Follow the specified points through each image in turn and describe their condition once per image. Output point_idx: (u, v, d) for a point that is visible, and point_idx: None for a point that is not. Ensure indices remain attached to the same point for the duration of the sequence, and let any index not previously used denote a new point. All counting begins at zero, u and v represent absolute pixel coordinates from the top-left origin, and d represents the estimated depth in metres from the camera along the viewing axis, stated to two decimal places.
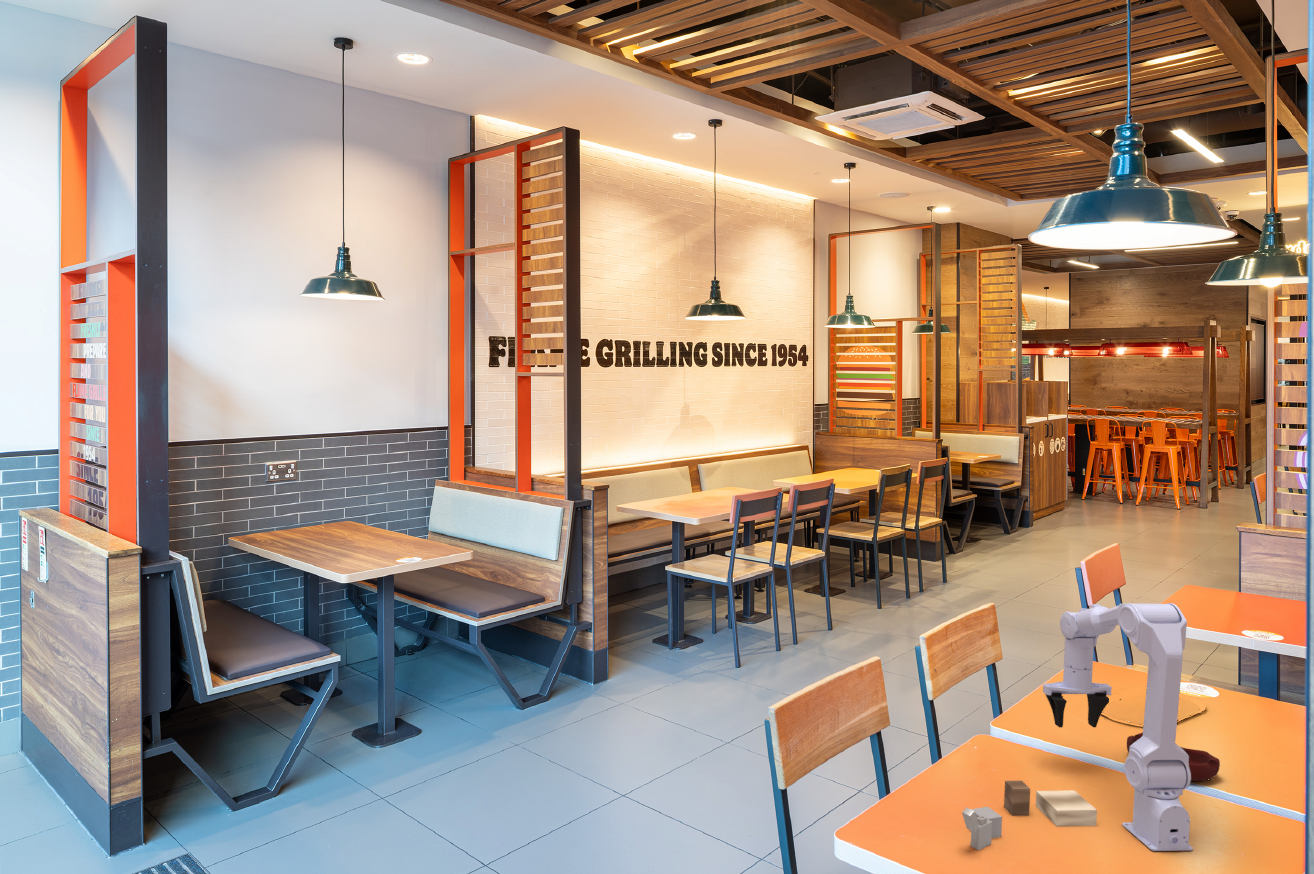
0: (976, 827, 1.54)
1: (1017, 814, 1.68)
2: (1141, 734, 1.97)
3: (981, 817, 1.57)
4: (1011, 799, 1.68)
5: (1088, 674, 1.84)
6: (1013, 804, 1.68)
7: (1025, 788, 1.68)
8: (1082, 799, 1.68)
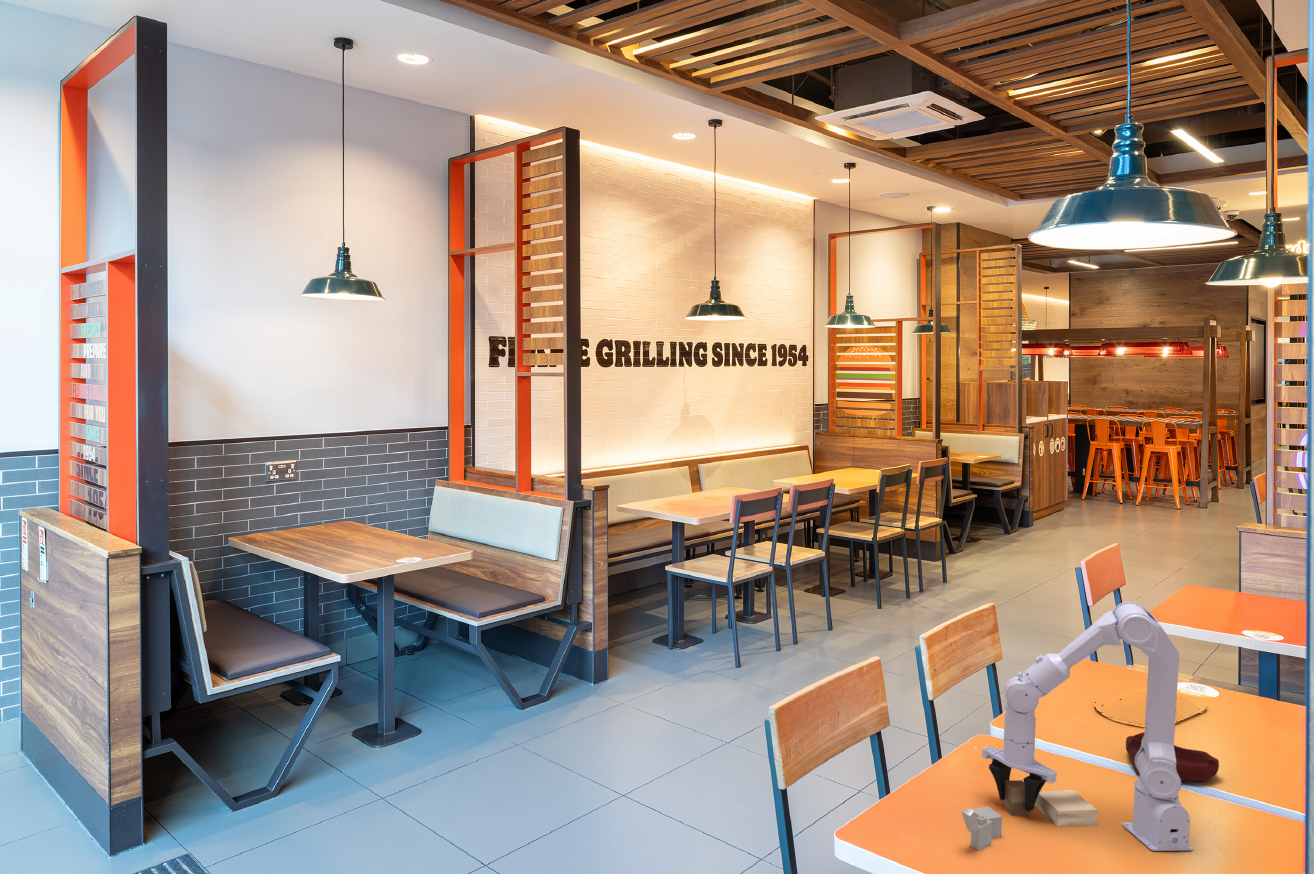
0: (976, 827, 1.54)
1: (1017, 814, 1.68)
2: (1140, 734, 1.97)
3: (981, 817, 1.57)
4: (1011, 799, 1.68)
5: (1016, 748, 1.66)
6: (1013, 804, 1.68)
7: None
8: (1082, 799, 1.68)
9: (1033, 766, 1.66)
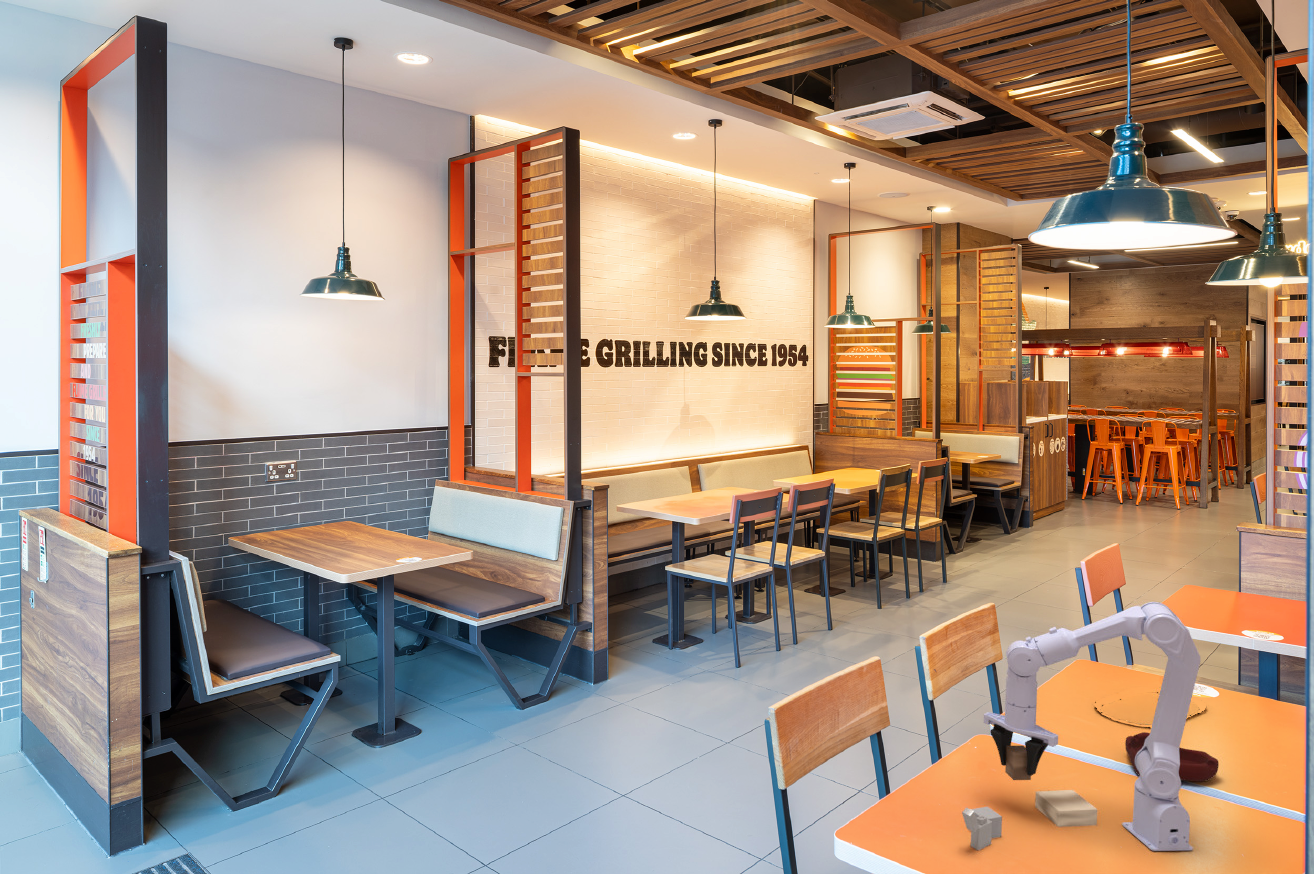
0: (976, 827, 1.54)
1: (1019, 778, 1.67)
2: (1140, 734, 1.97)
3: (981, 817, 1.57)
4: (1013, 763, 1.67)
5: (1018, 712, 1.66)
6: (1015, 768, 1.67)
7: (1026, 752, 1.67)
8: (1081, 799, 1.68)
9: (1035, 730, 1.66)
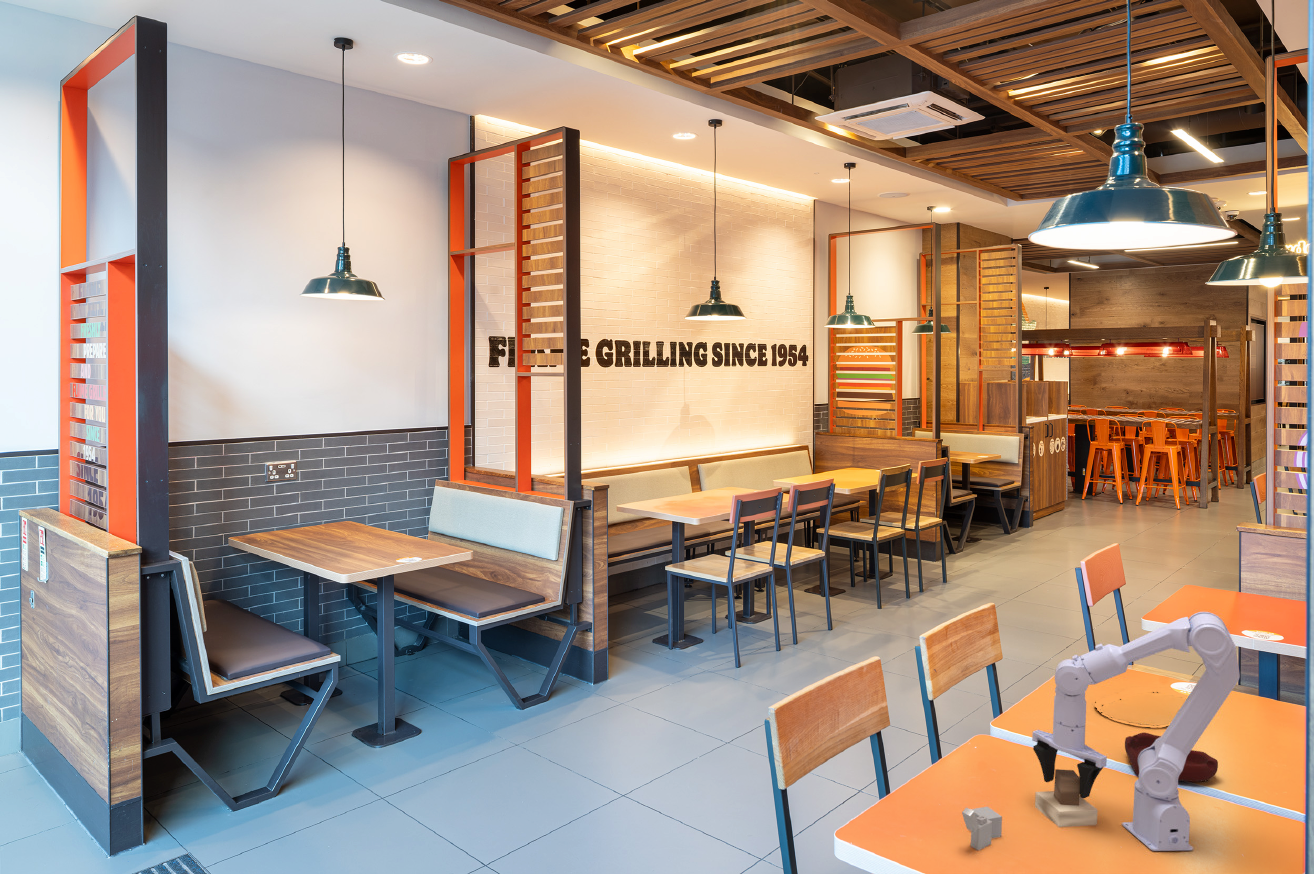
0: (976, 827, 1.54)
1: (1066, 803, 1.66)
2: (1139, 735, 1.97)
3: (981, 817, 1.57)
4: (1060, 788, 1.66)
5: (1065, 731, 1.65)
6: (1062, 793, 1.66)
7: (1075, 778, 1.65)
8: (1081, 799, 1.68)
9: (1083, 750, 1.64)
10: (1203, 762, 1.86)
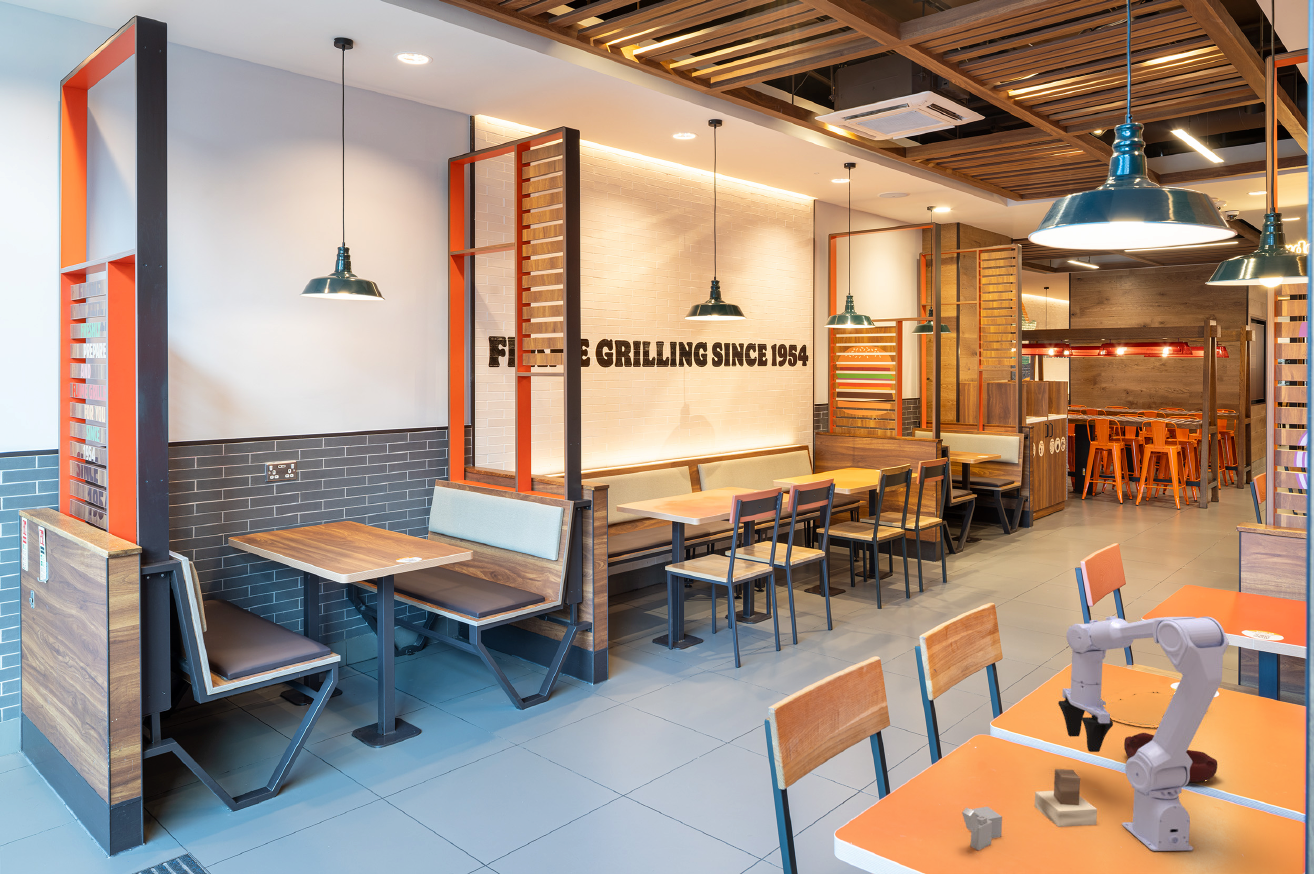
0: (976, 827, 1.54)
1: (1066, 803, 1.66)
2: (1139, 735, 1.97)
3: (981, 817, 1.57)
4: (1060, 787, 1.66)
5: (1076, 686, 1.76)
6: (1062, 792, 1.66)
7: (1074, 777, 1.66)
8: (1081, 798, 1.68)
9: (1093, 707, 1.74)
10: (1203, 762, 1.85)
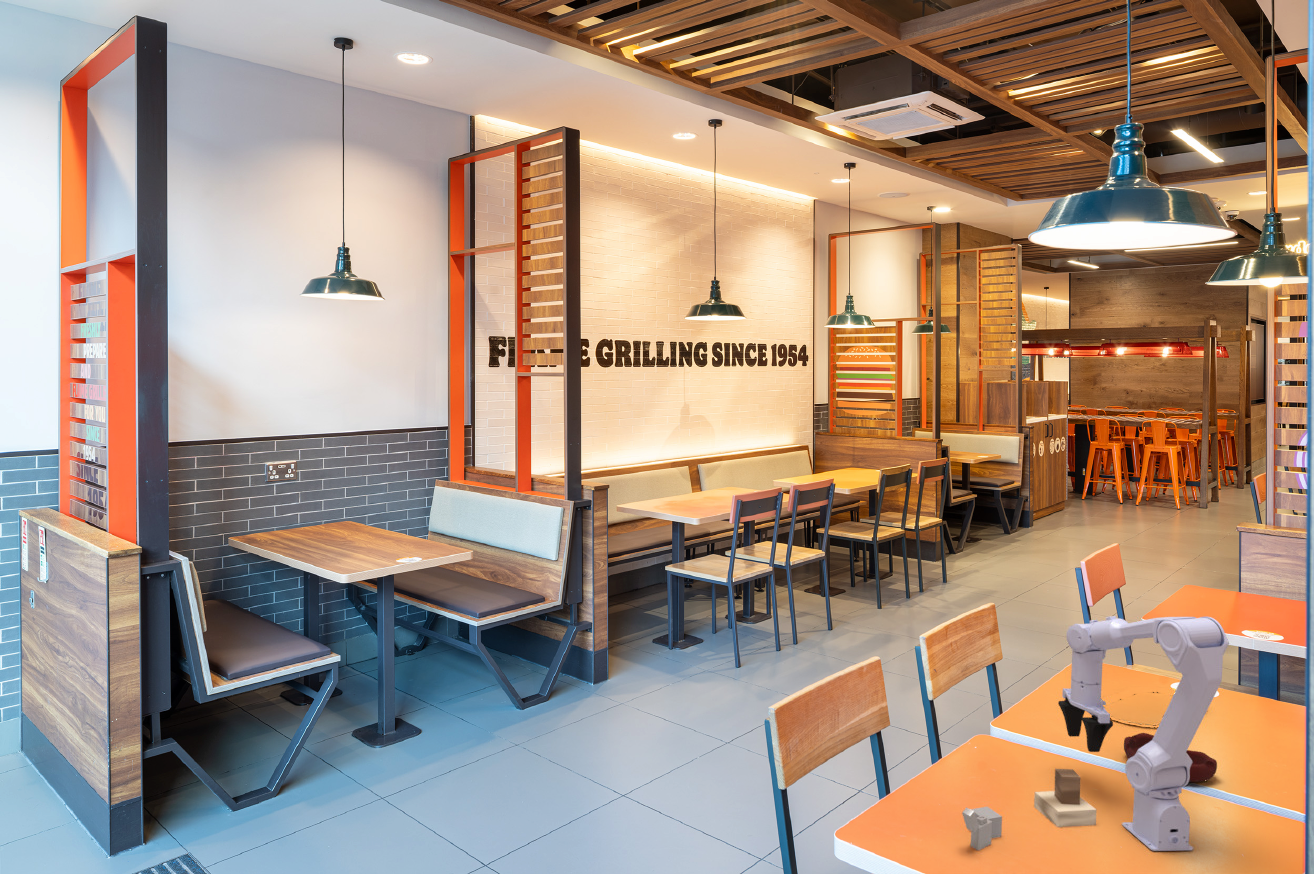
0: (976, 827, 1.54)
1: (1067, 802, 1.66)
2: (1138, 735, 1.96)
3: (981, 817, 1.57)
4: (1060, 787, 1.67)
5: (1076, 686, 1.76)
6: (1062, 792, 1.66)
7: (1075, 776, 1.66)
8: (1080, 799, 1.68)
9: (1093, 707, 1.74)
10: (1202, 762, 1.85)
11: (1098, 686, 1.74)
